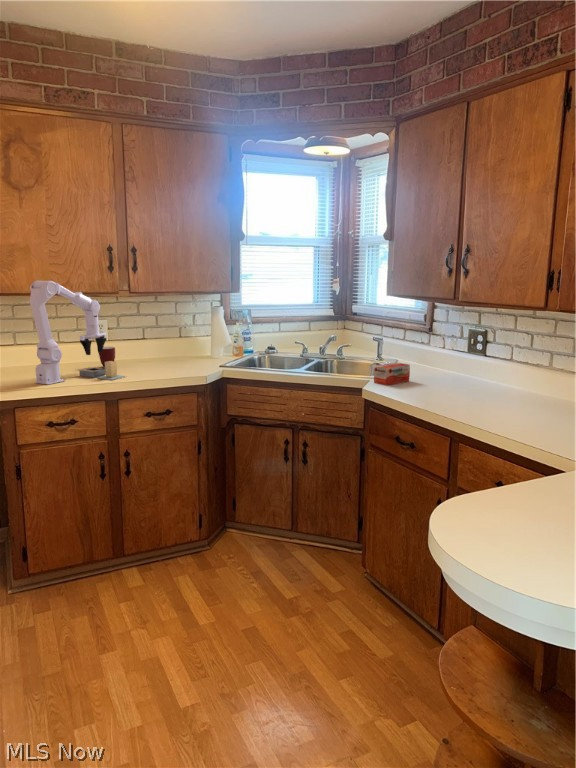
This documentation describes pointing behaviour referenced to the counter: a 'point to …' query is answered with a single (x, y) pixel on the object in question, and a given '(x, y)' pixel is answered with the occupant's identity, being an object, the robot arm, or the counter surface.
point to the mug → (107, 355)
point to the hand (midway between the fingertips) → (94, 353)
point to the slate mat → (110, 378)
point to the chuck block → (92, 372)
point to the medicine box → (391, 373)
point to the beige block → (110, 369)
